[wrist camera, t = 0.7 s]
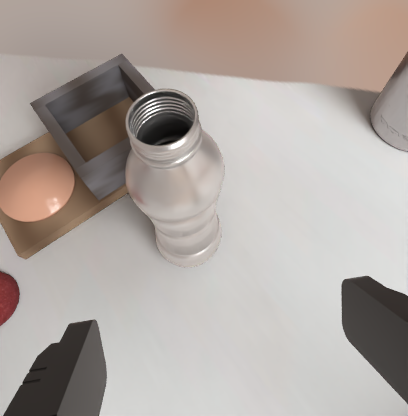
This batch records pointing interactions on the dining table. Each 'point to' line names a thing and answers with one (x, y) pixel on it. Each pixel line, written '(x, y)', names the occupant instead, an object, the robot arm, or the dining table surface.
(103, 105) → the wooden organizer tray
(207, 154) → the plastic bottle
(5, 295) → the red flat piece
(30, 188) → the terracotta coaster
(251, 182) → the dining table surface
